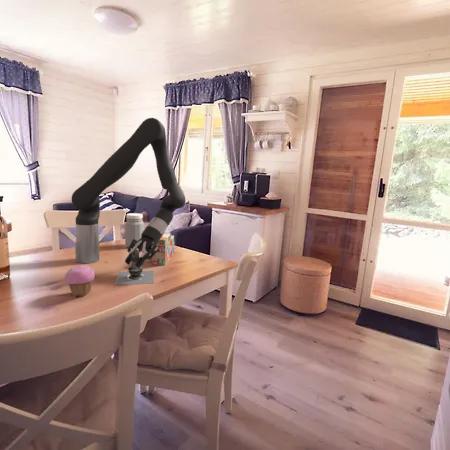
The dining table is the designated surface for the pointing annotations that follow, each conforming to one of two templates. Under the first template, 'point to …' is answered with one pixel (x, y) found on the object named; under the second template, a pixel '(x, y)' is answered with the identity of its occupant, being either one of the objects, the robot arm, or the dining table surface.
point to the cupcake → (80, 279)
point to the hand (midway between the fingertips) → (131, 264)
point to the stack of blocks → (164, 250)
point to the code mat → (124, 279)
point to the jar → (133, 227)
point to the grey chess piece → (134, 269)
